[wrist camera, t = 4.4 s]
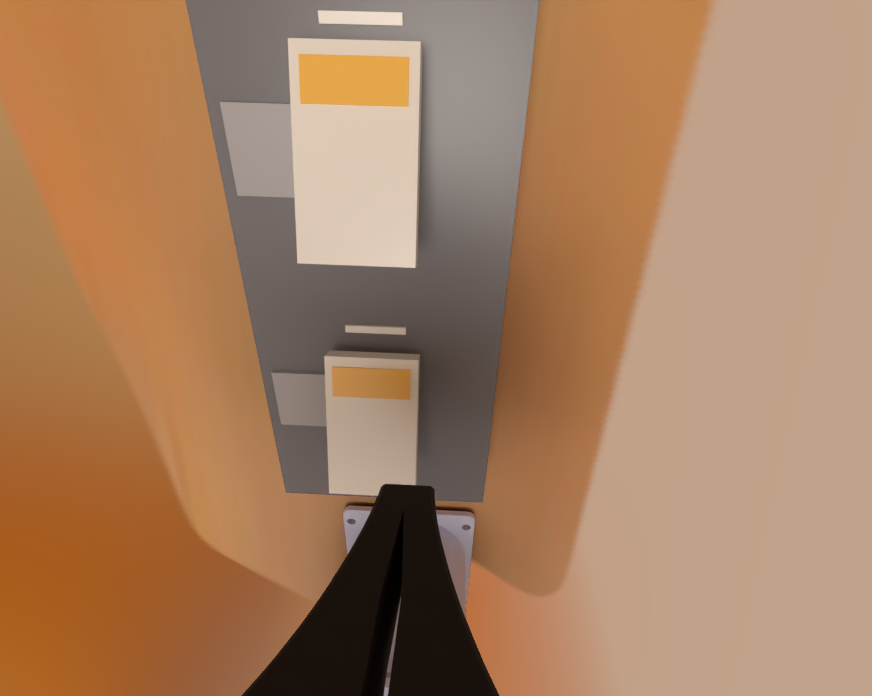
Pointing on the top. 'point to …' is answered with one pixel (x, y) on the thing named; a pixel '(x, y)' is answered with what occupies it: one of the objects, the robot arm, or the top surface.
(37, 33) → the top surface
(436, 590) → the robot arm
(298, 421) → the switch strip
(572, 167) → the top surface
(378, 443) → the block
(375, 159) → the plate
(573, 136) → the top surface
